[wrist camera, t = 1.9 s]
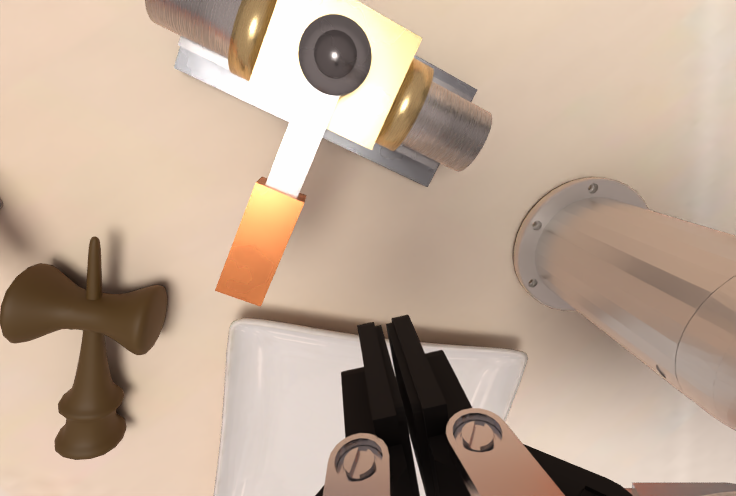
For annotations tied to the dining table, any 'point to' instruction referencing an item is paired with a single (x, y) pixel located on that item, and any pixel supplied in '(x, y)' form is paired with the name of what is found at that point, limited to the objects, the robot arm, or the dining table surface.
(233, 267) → the lever
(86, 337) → the kendama
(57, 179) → the dining table surface
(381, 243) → the dining table surface
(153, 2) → the ball valve
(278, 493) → the square plate
